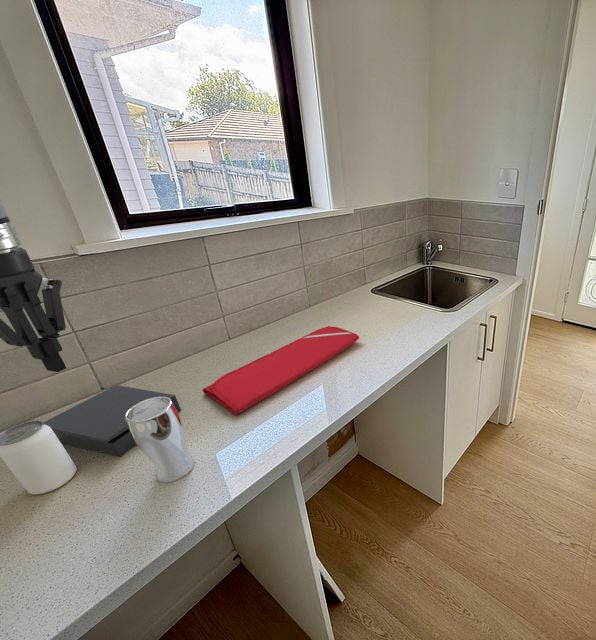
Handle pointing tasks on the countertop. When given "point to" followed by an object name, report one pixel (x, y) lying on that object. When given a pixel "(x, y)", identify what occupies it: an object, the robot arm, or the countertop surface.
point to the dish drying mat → (278, 369)
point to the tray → (113, 447)
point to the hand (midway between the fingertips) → (57, 369)
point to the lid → (101, 414)
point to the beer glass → (160, 437)
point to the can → (36, 457)
